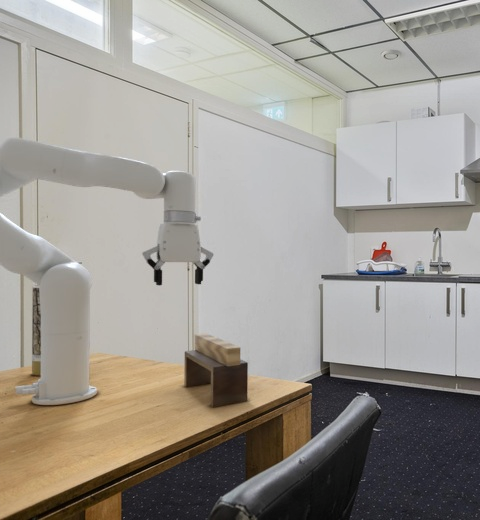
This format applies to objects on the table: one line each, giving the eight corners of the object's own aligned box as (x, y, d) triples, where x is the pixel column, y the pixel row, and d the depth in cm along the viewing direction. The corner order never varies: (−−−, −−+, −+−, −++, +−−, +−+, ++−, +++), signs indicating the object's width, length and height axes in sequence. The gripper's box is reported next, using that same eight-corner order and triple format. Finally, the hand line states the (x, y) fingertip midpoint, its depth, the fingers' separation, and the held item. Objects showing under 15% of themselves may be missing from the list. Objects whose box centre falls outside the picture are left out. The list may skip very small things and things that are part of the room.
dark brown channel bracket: (212, 407, 104) (213, 367, 104) (184, 385, 121) (184, 351, 121) (247, 400, 109) (247, 362, 109) (215, 380, 126) (215, 347, 126)
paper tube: (45, 377, 128) (46, 286, 128) (25, 375, 129) (26, 285, 129) (67, 371, 135) (68, 284, 134) (48, 369, 136) (48, 284, 136)
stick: (240, 364, 107) (240, 347, 107) (227, 366, 105) (227, 348, 105) (206, 348, 125) (206, 333, 125) (194, 349, 124) (194, 334, 124)
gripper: (208, 222, 130) (207, 283, 130) (139, 218, 119) (139, 284, 119) (217, 220, 124) (217, 284, 124) (146, 216, 113) (145, 286, 114)
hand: (178, 284), depth 122 cm, fingers open, 9 cm apart
